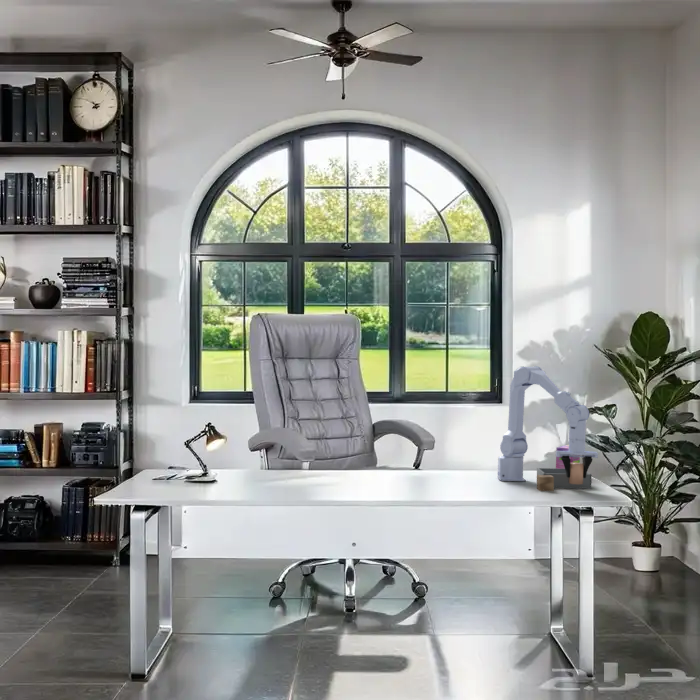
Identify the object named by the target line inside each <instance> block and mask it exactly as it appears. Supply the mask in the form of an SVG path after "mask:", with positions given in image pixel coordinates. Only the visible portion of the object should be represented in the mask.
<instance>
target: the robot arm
mask: <svg viewBox="0 0 700 700" xmlns="http://www.w3.org/2000/svg"><path fill="white" fill-rule="evenodd" d="M533 385H538V386H540V387H542V388H543V390H545V391H546V392H547V393H548V394H549V395H550V396H551V397H553V398H554V400H553V401H554V404H555V405H557V407H558V408H559V409H561V411H563V412H564V413H565V417H566V419H567V421H568V426H569V427H568V429H569V430H568V445H569V451H556V450H555V458H556V457H561V459H562V461H563V464H564V467H565V470H566V476H567V477H568V478H570V461H571V460H570V458H569V457H580V458H582V463H583V464H584V471H583V478H586V474H587V472H588V470H589V467H590V465H591V463H592V462H593V458H595V459H598V458H599V456H598V455H599V453H598V452H597V451H587V450H586V433H587V432H586V431H587V430H586V426H587V420H588V419H589V418H590V411H589V408H588V407H587V405H584V404H580V402H579V401H578V400H577V399H575V398H574V397H572V395H571V393H570V392H569V391H566V390H563V391H561V389H560V388H559V387H558V386H557V385H556V384H555V383H554V381H552V379H550V377H549V376H548V375H547V373H546V371H545V370H543V369H542V367H540V366H537V365H533V366H519V367H517V368H516V369H515V370H514V371H513V377H512V380H511V382H510V385H509V386H510V387H509V388H510V389H509V403H508V406H509V407H508V423H507V431H506V432H505V433H504V434H503V435H502V441H501V442H500V449H499V450H500V452H501V454H502V456H498V457H497V479H498V480H499V481H503V482H526V479H525V477H524V457H525V454H526V453H527V451H528V449H529V447H528V441H527V434H525V433H524V431H523V429H524V415H525V413H524V412H525V411H524V410H525V398H526V397H525V393H526V390H527V389H528V388H530V387H531V386H533ZM576 400H577V401H576ZM579 455H580V456H579Z"/></svg>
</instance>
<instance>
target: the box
mask: <svg viewBox="0 0 700 700" xmlns="http://www.w3.org/2000/svg"><path fill="white" fill-rule="evenodd" d="M556 451H569V444H566V445H562V446H561V445H560V446H558V447H557V446H556V450H555V452H556ZM579 456H581V455H579ZM569 458H570V460H571V461H570V463H581V462H580V461H581V457H569ZM555 468H560V469H565V467H564V464H563V461H562V459H561V457H556V456H555Z"/></svg>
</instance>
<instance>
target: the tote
mask: <svg viewBox="0 0 700 700" xmlns="http://www.w3.org/2000/svg"><path fill="white" fill-rule="evenodd" d="M537 475H552V476H553V477H554V488H555V487H558V488H559V489H560V488H564V489H567V488H568V489H572V488H573V489H592V474H591V473H590V472H588V471H587V474H586V478H583V484H570V483H569V478H568V477H567V476H566V470H565V469H560V468H556V467H554V468H553V467H552V468H549V467H547V468H546V467H536V476H537Z"/></svg>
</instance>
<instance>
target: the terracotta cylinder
mask: <svg viewBox="0 0 700 700" xmlns="http://www.w3.org/2000/svg"><path fill="white" fill-rule="evenodd" d="M583 471H584V464H583V462H580V463H570V478H569V483H570V484H583Z"/></svg>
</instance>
